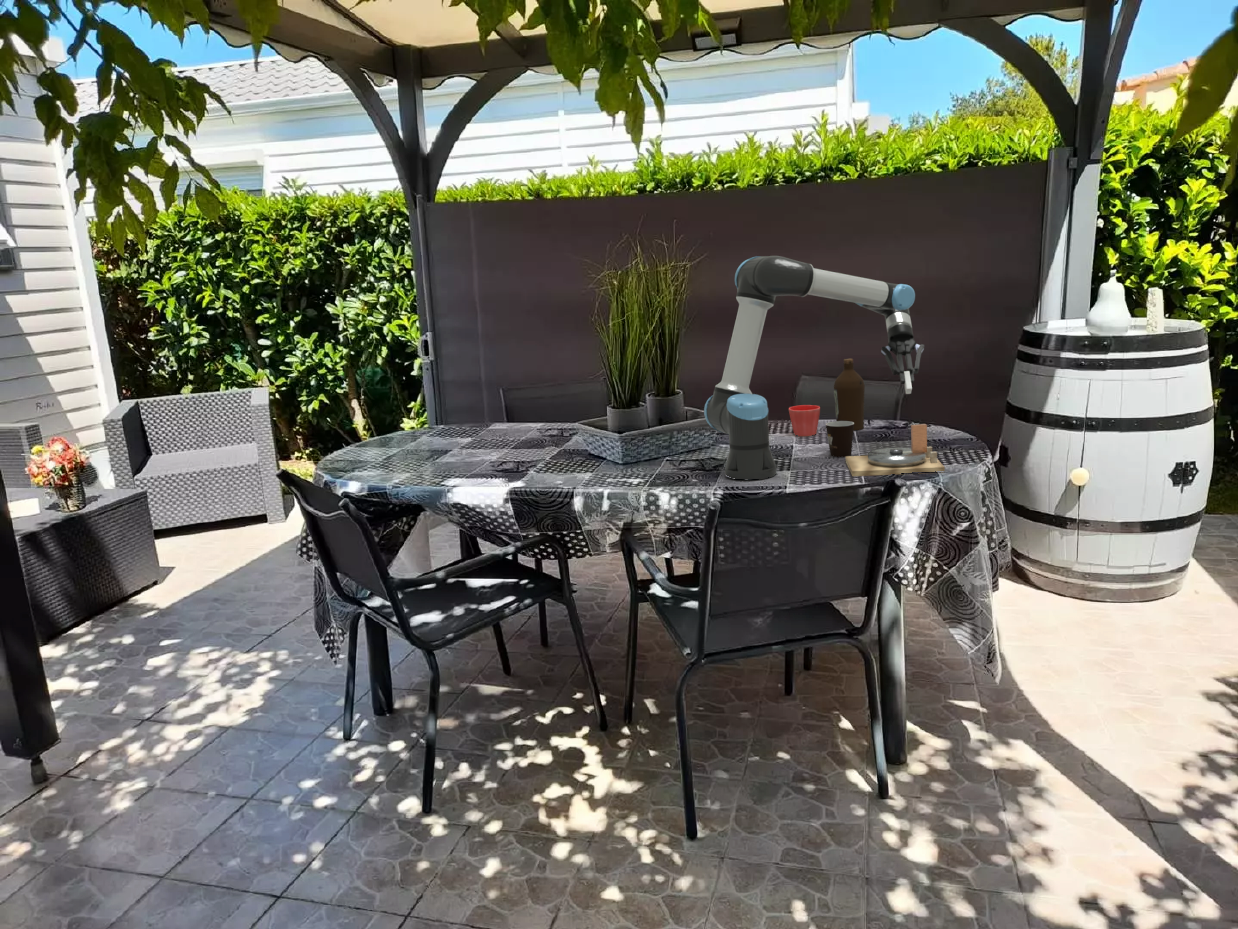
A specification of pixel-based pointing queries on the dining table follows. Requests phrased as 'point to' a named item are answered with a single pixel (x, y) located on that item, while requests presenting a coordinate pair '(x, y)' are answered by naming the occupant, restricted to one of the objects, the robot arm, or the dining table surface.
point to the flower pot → (804, 419)
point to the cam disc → (903, 451)
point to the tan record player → (864, 468)
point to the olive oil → (849, 396)
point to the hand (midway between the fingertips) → (908, 391)
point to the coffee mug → (840, 438)
